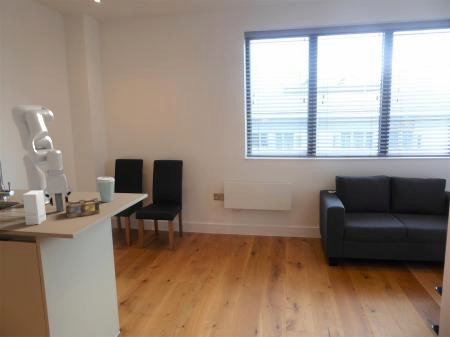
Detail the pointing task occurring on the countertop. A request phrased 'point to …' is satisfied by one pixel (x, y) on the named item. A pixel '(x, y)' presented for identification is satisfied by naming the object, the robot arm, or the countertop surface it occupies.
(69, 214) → the socket block
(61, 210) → the peg
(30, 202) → the skincare box
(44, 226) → the countertop surface
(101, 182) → the disposable coffee cup
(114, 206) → the countertop surface
